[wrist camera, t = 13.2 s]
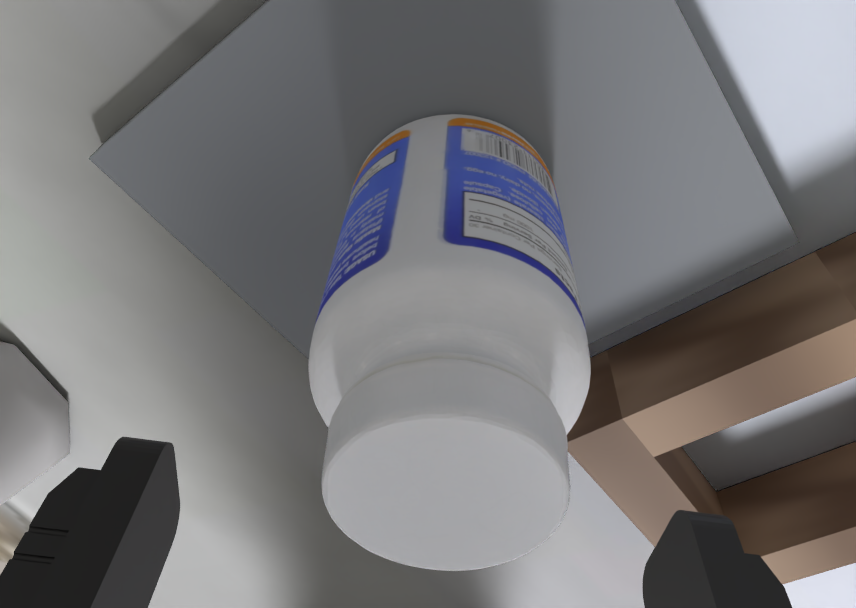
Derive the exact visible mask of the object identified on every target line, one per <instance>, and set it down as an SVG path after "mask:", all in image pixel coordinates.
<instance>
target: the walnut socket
mask: <svg viewBox="0 0 856 608" xmlns="http://www.w3.org/2000/svg"><path fill="white" fill-rule="evenodd" d="M590 364H591V375H590V385H589V390H588V394H587V397H586V400H585V402H584V405H583V408H582V410H581V413H580V415H579V417H578V419H577V421H576V422H575V424H574V425H573V427H572V429H571V430H570V431H569V433H568V434H567V442H568V450H567V451H568V452H569V453H570V454H571V455H572V456H573V457H574V459H575V460H576V461H577V462H578V463H579V464H580V465H581V466H582V467H583V468H584V470H585V471H586V472H587V473H588V474H589V475H590V476H591V477H592V478H593V479H594V481H595V482H596V483H597V484H598V485H599V486H600V487H601V488H602V489H603V491H604V492H605V493H606V494H607V495H608V496H609V497H610V498H611V499H612V500H613V502H614V503H615V504H616V505H617V506H618V507H619V508H620V509H621V510H622V511H623V513H624V514H625V515H626V516H627V517H628V518H629V519H630V520H631V521H632V522H633V524H634V525H635V526H636V527H637V528H638V529H639V530H640V531H641V532H642V533H643V535H644V536H645V537H646V538H647V539H648V540H649V541H650V542H651V543H652V544H653V546H654V547H656V545H657V543H658V541H659V539H660V538H661V536H662V534H663V532H664V530H665V529H666V527H667V525H668V523H669V521H670V520H671V518H672V516H673V515H674V513H675V512H676V511H678V510H685V511H693V512H701V513H709V514H717V515H724V516H727V517H728V518H730V520H731V521H732V522H733V524H734V526H735V528H736V531H737V534H738V537H739V539H740V542H741V545H742V548H743V551H744V553H747V554H755V555H760V556H761V558H762V559H763V560H764V562H765V563H766V564H767V565H768V567H769V568H770V569H771V571H772V572H773V573H774V574H775V576H776V577H777V578H778V580H779V581H780V582H781V584H785V583H789V582H792V581H795V580H799V579H802V578H805V577H809V576H812V575H815V574H819V573H822V572H826V571H829V570H832V569H836V568H839V567H842V566H846V565H849V564H852V563H856V442H854V443H851V444H848V445H845V446H842V447H840V448H837V449H834V450H831V451H829V452H826V453H823V454H820V455H818V456H815V457H812V458H809V459H807V460H804V461H801V462H798V463H795V464H793V465H790V466H787V467H784V468H782V469H779V470H776V471H773V472H771V473H768V474H765V475H762V476H760V477H757V478H754V479H751V480H748V481H746V482H743V483H740V484H737V485H735V486H732V487H729V488H726V489H724V490H721V491H718V492H716V491H715V490H714V489H713V487H712V486H711V485H710V483H709V482H708V481H707V479H706V478H705V477H704V476H703V474H702V473H701V472H700V470H699V469H698V468H697V466H696V465H695V464H694V463H693V461H692V460H691V459H690V457H689V456H688V455H687V454H686V452H685V451H684V450H683V448H682V447H681V446H683V445H686V444H688V443H691V442H693V441H696V440H698V439H701V438H703V437H706V436H708V435H711V434H713V433H716V432H718V431H721V430H723V429H726V428H729V427H731V426H734V425H736V424H739V423H741V422H744V421H746V420H749V419H751V418H754V417H756V416H759V415H761V414H764V413H766V412H769V411H771V410H774V409H776V408H779V407H782V406H784V405H787V404H789V403H792V402H794V401H797V400H799V399H802V398H804V397H807V396H809V395H812V394H814V393H817V392H819V391H822V390H824V389H827V388H829V387H832V386H835V385H837V384H840V383H842V382H845V381H847V380H850V379H852V378H855V377H856V232H855V233H853V234H851V235H849V236H847V237H845V238H843V239H841V240H839V241H836V242H834V243H832V244H830V245H828V246H826V247H824V248H822V249H820V250H817V251H815V252H813V253H811V254H809V255H807V256H805V257H803V258H801V259H798V260H796V261H794V262H792V263H790V264H788V265H786V266H784V267H782V268H779V269H777V270H775V271H773V272H771V273H769V274H767V275H765V276H763V277H760V278H758V279H756V280H754V281H752V282H750V283H748V284H746V285H744V286H741V287H739V288H737V289H735V290H733V291H731V292H729V293H727V294H725V295H722V296H720V297H718V298H716V299H714V300H712V301H710V302H708V303H706V304H703V305H701V306H699V307H697V308H695V309H693V310H691V311H689V312H687V313H684V314H682V315H680V316H678V317H676V318H674V319H672V320H670V321H668V322H665V323H663V324H661V325H659V326H657V327H655V328H653V329H651V330H649V331H646V332H644V333H642V334H640V335H638V336H636V337H634V338H632V339H630V340H627V341H625V342H623V343H621V344H619V345H617V346H615V347H613V348H611V349H608V350H606V351H604V352H602V353H600V354H598V355H596V356H594V357H592V358H590Z"/></svg>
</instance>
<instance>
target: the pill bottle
mask: <svg viewBox="0 0 856 608" xmlns="http://www.w3.org/2000/svg"><path fill="white" fill-rule="evenodd" d="M308 369H309V381H310V389H311V392H312V396H313V399H314V403H315V405H316V407H317V409H318V411H319V413H320V415H321V417H322V418H323V420H324V422H325V424H326V425H327V427H328V438H327V444H326V450H325V456H324V463H323V470H322V478H321V486H322V496H323V500H324V503H325V506H326V508H327V510H328V512H329V514H330V516H331V518H332V519H333V521H334V522H335V523H336V525H337V526H338V527H339V528H340V529H341V530H342V531H343V532H344V533H345V534H346V535H347V536H348V537H349V538H350V539H352V540H353V541H354V542H356V543H357V544H359V545H360V546H362V547H363V548H365V549H366V550H368V551H370V552H372V553H374V554H376V555H378V556H381V557H383V558H385V559H388V560H391V561H394V562H397V563H400V564H404V565H408V566H412V567H417V568H423V569H432V570H443V571H466V570H476V569H484V568H488V567H492V566H496V565H500V564H504V563H506V562H509V561H512V560H514V559H517V558H519V557H522V556H524V555H526V554H527V553H529V552H531V551H532V550H534V549H535V548H537V547H538V546H540V545H541V544H542V543H544V542H545V541H546V540H547V539H548V538H550V536H551V535H552V534H553V533H554V532H555V531H556V529H557V528H558V527H559V525H560V524H561V522H562V520H563V518H564V516H565V513H566V511H567V508H568V504H569V499H570V478H569V468H568V455H567V450H568V442H567V434H568V433H569V431H570V430H571V429H572V427H573V425H574V424H575V422H576V421H577V419H578V417H579V415H580V413H581V410H582V408H583V405H584V402H585V400H586V397H587V394H588V390H589V385H590V375H591V364H590V354H589V347H588V340H587V335H586V328H585V323H584V319H583V315H582V310H581V304H580V300H579V295H578V290H577V285H576V280H575V275H574V270H573V266H572V261H571V257H570V252H569V248H568V243H567V238H566V234H565V229H564V225H563V220H562V215H561V211H560V206H559V202H558V197H557V193H556V189H555V186H554V183H553V180H552V178H551V175H550V173H549V171H548V169H547V166H546V164H545V163H544V161H543V160H542V158H541V157H540V155H539V154H538V152H537V151H536V150H535V149H534V148H533V146H532V145H531V144H530V143H528V142H527V141H526V140H525V139H524V138H523V137H522V136H520V135H519V134H518V133H516V132H515V131H513V130H511V129H510V128H508V127H506V126H504V125H502V124H500V123H497V122H495V121H492V120H489V119H485V118H481V117H477V116H472V115H462V114H447V115H436V116H431V117H426V118H422V119H419V120H416V121H413V122H410V123H408V124H406V125H404V126H402V127H400V128H398V129H396V130H395V131H393V132H392V133H390V134H389V135H388V136H387V137H385V138H384V139H383V140H382V141H381V142H380V143H379V144H378V145H377V146H376V147H375V148H374V149H373V150H372V151H371V153H370V154H369V155H368V157H367V158H366V160H365V161H364V163H363V165H362V167H361V169H360V171H359V173H358V175H357V177H356V180H355V182H354V184H353V188H352V191H351V195H350V199H349V203H348V206H347V210H346V213H345V217H344V221H343V224H342V228H341V232H340V235H339V239H338V242H337V246H336V249H335V253H334V257H333V260H332V264H331V267H330V271H329V275H328V278H327V282H326V286H325V290H324V293H323V297H322V300H321V304H320V307H319V311H318V315H317V319H316V323H315V327H314V331H313V336H312V341H311V346H310V353H309V365H308Z"/></svg>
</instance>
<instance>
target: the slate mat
mask: <svg viewBox="0 0 856 608" xmlns="http://www.w3.org/2000/svg"><path fill="white" fill-rule="evenodd" d="M447 114H462V115H472V116H477V117H481V118H485V119H489V120H492V121H495V122H497V123H500V124H502V125H504V126H506V127H508V128H510V129H511V130H513V131H515V132H516V133H518V134H519V135H520V136H522V137H523V138H524V139H525V140H526V141H527V142H528V143H530V144H531V145H532V146H533V148H534V149H535V150H536V151H537V152H538V154H539V155H540V157H541V158H542V160H543V161H544V163H545V164H546V166H547V169H548V171H549V173H550V175H551V178H552V180H553V183H554V186H555V189H556V193H557V197H558V202H559V206H560V211H561V215H562V220H563V225H564V229H565V234H566V238H567V243H568V248H569V252H570V257H571V261H572V266H573V270H574V275H575V280H576V285H577V290H578V295H579V300H580V304H581V310H582V315H583V319H584V323H585V328H586V335H587V340H588V345H589V344H591V343H593V342H595V341H597V340H599V339H601V338H603V337H605V336H607V335H609V334H612V333H614V332H616V331H618V330H620V329H622V328H624V327H626V326H628V325H630V324H632V323H634V322H636V321H638V320H641V319H643V318H645V317H647V316H649V315H651V314H653V313H655V312H657V311H659V310H661V309H663V308H665V307H667V306H670V305H672V304H674V303H676V302H678V301H680V300H682V299H684V298H686V297H688V296H690V295H692V294H694V293H696V292H699V291H701V290H703V289H705V288H707V287H709V286H711V285H713V284H715V283H717V282H719V281H721V280H723V279H726V278H728V277H730V276H732V275H734V274H736V273H738V272H740V271H742V270H744V269H746V268H748V267H750V266H752V265H755V264H757V263H759V262H761V261H763V260H765V259H767V258H769V257H771V256H773V255H775V254H777V253H779V252H781V251H784V250H786V249H788V248H790V247H792V246H794V245H796V244H798V243H799V241H798V239H797V237H796V235H795V233H794V231H793V229H792V227H791V225H790V223H789V221H788V219H787V217H786V216H785V214H784V212H783V210H782V208H781V206H780V204H779V202H778V200H777V198H776V196H775V194H774V192H773V190H772V188H771V186H770V184H769V182H768V180H767V178H766V177H765V175H764V173H763V171H762V169H761V167H760V165H759V163H758V161H757V159H756V157H755V155H754V153H753V151H752V149H751V147H750V145H749V143H748V141H747V139H746V138H745V136H744V134H743V132H742V130H741V128H740V126H739V124H738V122H737V120H736V118H735V116H734V114H733V112H732V110H731V108H730V106H729V104H728V102H727V100H726V99H725V97H724V95H723V93H722V91H721V89H720V87H719V85H718V83H717V81H716V79H715V77H714V75H713V73H712V71H711V69H710V67H709V65H708V63H707V61H706V60H705V58H704V56H703V54H702V52H701V50H700V48H699V46H698V44H697V42H696V40H695V38H694V36H693V34H692V32H691V30H690V28H689V26H688V24H687V22H686V21H685V19H684V17H683V15H682V13H681V11H680V9H679V7H678V5H677V3H676V1H675V0H267V1H266V2H265V3H264V4H263V5H262V6H260V7H259V8H258V9H257V10H256V11H255V12H254V13H252V14H251V15H250V16H249V17H248V18H247V19H246V20H244V21H243V22H242V23H241V24H240V25H239V26H237V27H236V28H235V29H234V30H233V31H232V32H231V33H229V34H228V35H227V36H226V37H225V38H224V39H223V40H221V41H220V42H219V43H218V44H217V45H216V46H215V47H213V48H212V49H211V50H210V51H209V52H208V53H207V54H205V55H204V56H203V57H202V58H201V59H200V60H199V61H197V62H196V63H195V64H194V65H193V66H192V67H190V68H189V69H188V70H187V71H186V72H185V73H184V74H182V75H181V76H180V77H179V78H178V79H177V80H176V81H174V82H173V83H172V84H171V85H170V86H169V87H168V88H166V89H165V90H164V91H163V92H162V93H161V94H160V95H158V96H157V97H156V98H155V99H154V100H153V101H151V102H150V103H149V104H148V105H147V106H146V107H145V108H143V109H142V110H141V111H140V112H139V113H138V114H137V115H135V116H134V117H133V118H132V119H131V120H130V121H129V122H127V123H126V124H125V125H124V126H123V127H122V128H121V129H119V130H118V131H117V132H116V133H115V134H114V135H112V136H111V137H110V138H109V139H108V140H107V141H106V142H104V143H103V144H102V145H101V146H100V147H99V148H98V149H97V150H96V151H95V152H94V153H93V154H92V155H91V156H90V158H89V159H90V160H91V161H92V162H93V163H94V164H95V165H96V166H97V167H98V168H100V169H101V170H102V171H103V172H104V173H105V174H106V175H107V176H108V177H109V178H110V179H112V180H113V181H114V182H115V183H116V184H117V185H118V186H119V187H120V188H121V189H123V190H124V191H125V192H126V193H127V194H128V195H129V196H130V197H131V198H132V199H133V200H135V201H136V202H137V203H138V204H139V205H140V206H141V207H142V208H143V209H144V210H145V211H147V212H148V213H149V214H150V215H151V216H152V217H153V218H154V219H155V220H156V221H158V222H159V223H160V224H161V225H162V226H163V227H164V228H165V229H166V230H167V231H168V232H170V233H171V234H172V235H173V236H174V237H175V238H176V239H177V240H178V241H179V242H181V243H182V244H183V245H184V246H185V247H186V248H187V249H188V250H189V251H190V252H191V253H193V254H194V255H195V256H196V257H197V258H198V259H199V260H200V261H201V262H202V263H203V264H205V265H206V266H207V267H208V268H209V269H210V270H211V271H212V272H213V273H214V274H216V275H217V276H218V277H219V278H220V279H221V280H222V281H223V282H224V283H225V284H226V285H228V286H229V287H230V288H231V289H232V290H233V291H234V292H235V293H236V294H237V295H239V296H240V297H241V298H242V299H243V300H244V301H245V302H246V303H247V304H248V305H249V306H251V307H252V308H253V309H254V310H255V311H256V312H257V313H258V314H259V315H260V316H261V317H263V318H264V319H265V320H266V321H267V322H268V323H269V324H270V325H271V326H272V327H274V328H275V329H276V330H277V331H278V332H279V333H280V334H281V335H282V336H283V337H284V338H286V339H287V340H288V341H289V342H290V343H291V344H292V345H293V346H294V347H295V348H297V349H298V350H299V351H300V352H301V353H302V354H303V355H304V356H305V357H306V358H307V359H309V353H310V346H311V341H312V336H313V331H314V327H315V323H316V319H317V315H318V311H319V307H320V304H321V300H322V297H323V293H324V290H325V286H326V282H327V278H328V275H329V271H330V267H331V264H332V260H333V257H334V253H335V249H336V246H337V242H338V239H339V235H340V232H341V228H342V224H343V221H344V217H345V213H346V210H347V206H348V203H349V199H350V195H351V191H352V188H353V184H354V182H355V180H356V177H357V175H358V173H359V171H360V169H361V167H362V165H363V163H364V161H365V160H366V158H367V157H368V155H369V154H370V153H371V151H372V150H373V149H374V148H375V147H376V146H377V145H378V144H379V143H380V142H381V141H382V140H383V139H384V138H385V137H387V136H388V135H389V134H390V133H392V132H393V131H395V130H396V129H398V128H400V127H402V126H404V125H406V124H408V123H410V122H413V121H416V120H419V119H422V118H426V117H431V116H436V115H447Z"/></svg>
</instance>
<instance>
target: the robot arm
mask: <svg viewBox="0 0 856 608" xmlns="http://www.w3.org/2000/svg"><path fill="white" fill-rule="evenodd" d="M179 513H180V497H179V488H178V479H177V470H176V461H175V452H174V447H173V445H172V443H169V442H161V441H153V440H145V439H138V438H130V437H122V438H120V439H119V440H118V441H117V442H116V443H115V445H114V447H113V448H112V450H111V452H110V454H109V456H108V458H107V460H106V462H105V463H104V465H103V467H102V469H101V470H94V469H86V468H79V467H78V468H77V469H76V470H75V471H74V472H73V473H72V474H70V475H69V476H68V477H67V478H66V479H65V480H63V481H62V482H61V483H60V484H59V485H58V486H56V487H55V488H54V489H53V490H52V491H51V492H49V493H48V495H47V497H46V498H45V500H44V502H43V503H42V505H41V507H40V508H39V510H38V512H37V514H36V515H35V517H34V519H33V520H32V522H31V524H30V526H29V531H28V532H25V534H24V536H23V537H22V539H21V541H20V543H19V544H18V546H17V548H16V549H15V551H14V556H13V558H12V559H10V560H9V561H8V563H7V565H6V567H5V568H4V570H3V572H2V573H1V575H0V608H148V605H149V603H150V600H151V598H152V595H153V592H154V590H155V587H156V585H157V582H158V579H159V577H160V574H161V572H162V569H163V567H164V564H165V561H166V559H167V556H168V554H169V551H170V548H171V546H172V543H173V540H174V537H175V534H176V530H177V525H178V520H179ZM643 599H644V605H645V608H792V606H791V603H790V601H789V598H788V596H787V593H786V591H785V588H784V586H783V585H782V584H781V582H780V581H779V580H778V578H777V577H776V576H775V574H774V573H773V572H772V571H771V569H770V568H769V567H768V565H767V564H766V563H765V562H764V560H763V559H762V558H761V556H760V555H755V554H747V553H744V551H743V548H742V545H741V542H740V539H739V537H738V534H737V531H736V528H735V526H734V524H733V522H732V521H731V520H730V518H728V517H727V516H724V515H717V514H709V513H701V512H693V511H685V510H678V511H676V512H675V513H674V515H673V516H672V518H671V520H670V521H669V523H668V525H667V527H666V529H665V530H664V532H663V534H662V536H661V538H660V539H659V541H658V543H657V545H656V547H655V548H654V550H653V552H652V554H651V556H650V557H649V559H648V561H647V563H646V566H645V570H644V575H643Z"/></svg>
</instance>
